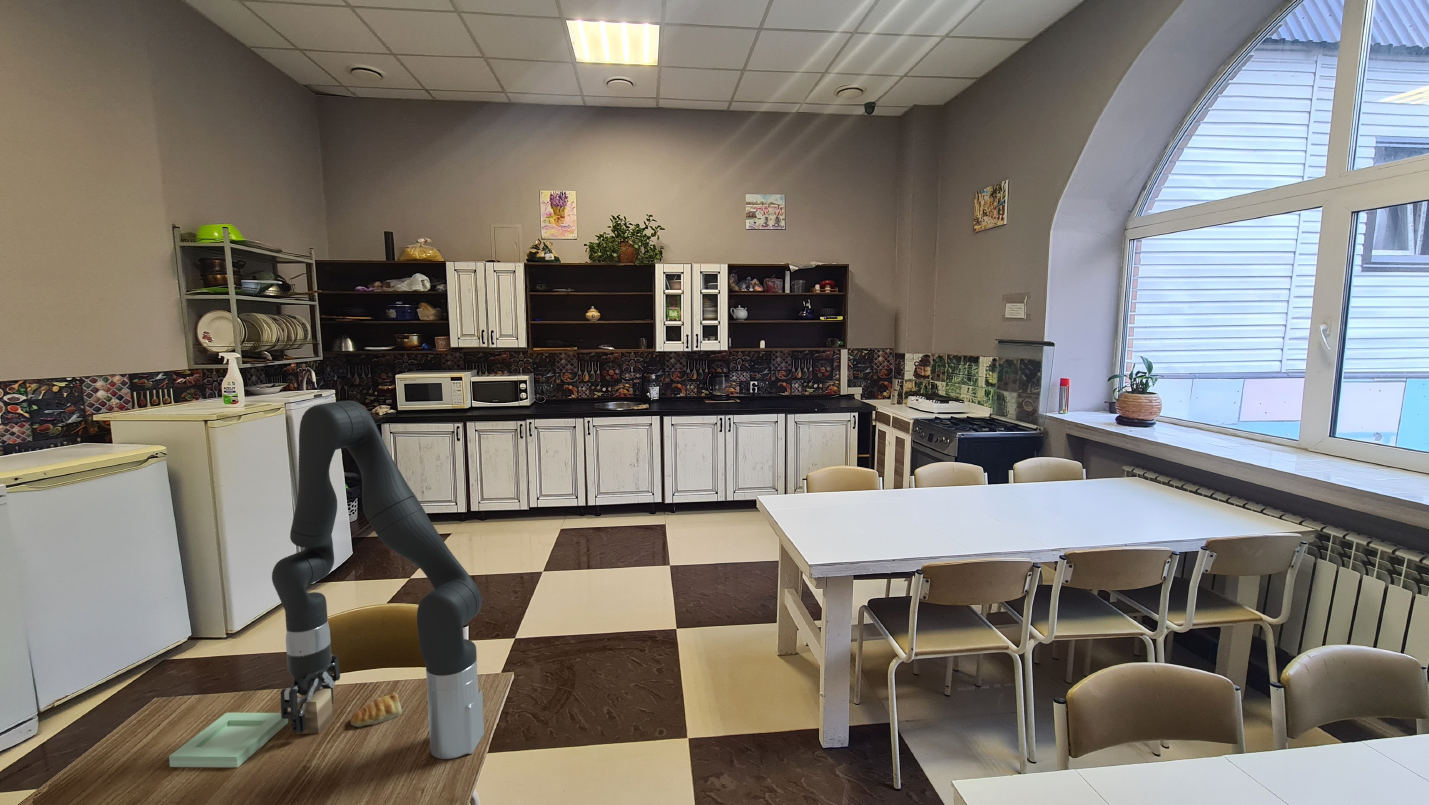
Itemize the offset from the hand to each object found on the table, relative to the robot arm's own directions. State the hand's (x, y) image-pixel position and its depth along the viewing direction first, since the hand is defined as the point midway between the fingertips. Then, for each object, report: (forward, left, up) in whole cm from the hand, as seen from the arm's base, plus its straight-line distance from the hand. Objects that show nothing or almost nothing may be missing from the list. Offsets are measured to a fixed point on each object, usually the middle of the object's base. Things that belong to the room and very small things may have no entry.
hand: (314, 718), depth 122 cm
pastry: (-12, -3, -2) cm, 13 cm away
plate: (+13, +6, -2) cm, 14 cm away
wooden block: (0, 0, -2) cm, 2 cm away
